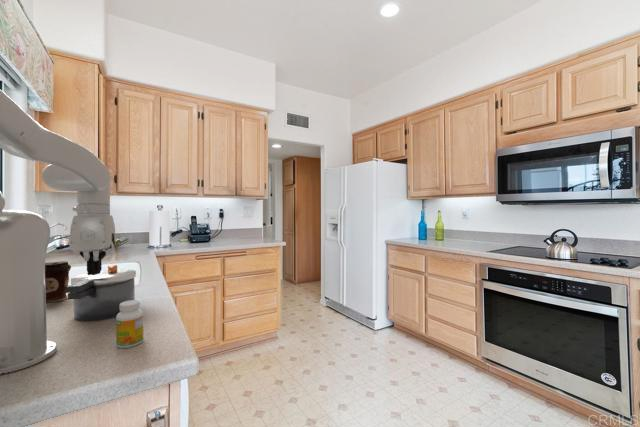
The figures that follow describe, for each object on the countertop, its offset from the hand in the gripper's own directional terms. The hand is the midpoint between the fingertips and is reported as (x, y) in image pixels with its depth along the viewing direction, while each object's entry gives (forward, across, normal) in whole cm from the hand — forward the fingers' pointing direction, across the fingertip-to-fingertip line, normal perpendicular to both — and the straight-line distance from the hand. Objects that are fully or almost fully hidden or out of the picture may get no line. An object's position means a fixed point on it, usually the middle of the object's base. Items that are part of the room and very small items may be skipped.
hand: (94, 274), depth 84 cm
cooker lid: (+3, 0, +2) cm, 3 cm away
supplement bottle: (+13, +18, -18) cm, 29 cm away
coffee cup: (+13, -24, +19) cm, 33 cm away
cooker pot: (+13, 0, +3) cm, 13 cm away
